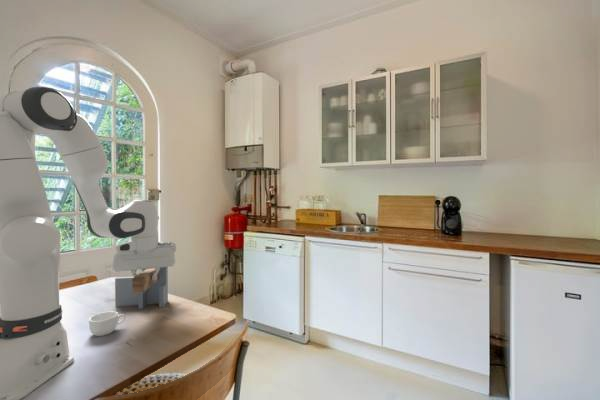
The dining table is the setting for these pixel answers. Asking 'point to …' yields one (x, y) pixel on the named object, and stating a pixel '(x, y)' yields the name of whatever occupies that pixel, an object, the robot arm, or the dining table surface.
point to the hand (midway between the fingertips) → (146, 280)
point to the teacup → (104, 322)
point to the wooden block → (144, 280)
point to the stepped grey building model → (150, 296)
